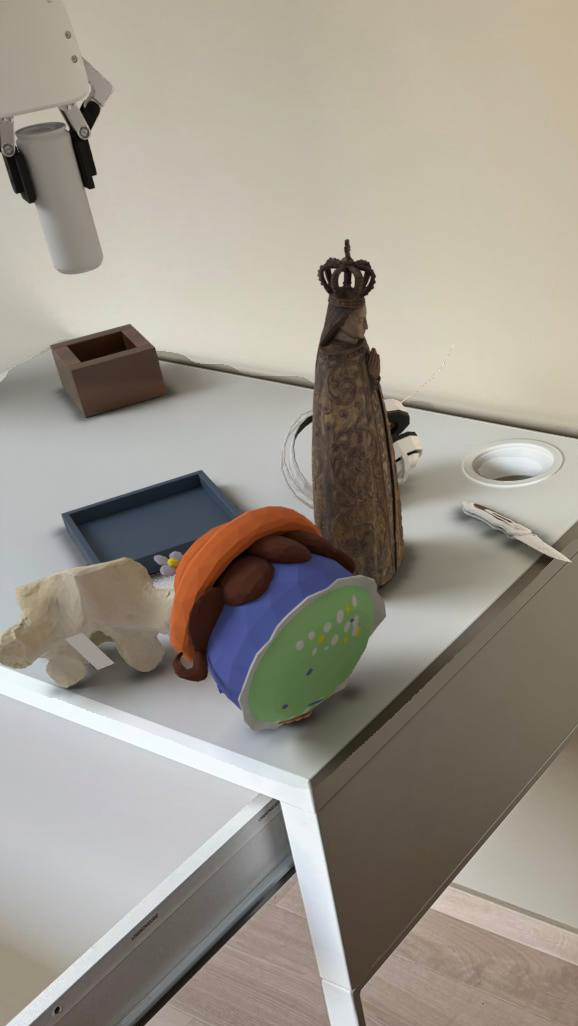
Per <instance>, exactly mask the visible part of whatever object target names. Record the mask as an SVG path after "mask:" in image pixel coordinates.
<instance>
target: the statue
mask: <svg viewBox="0 0 578 1026" xmlns="http://www.w3.org/2000/svg"><path fill="white" fill-rule="evenodd" d="M351 251H352V248H351V243H350V239H349V238H346V239H344V246H343V253H344V257H342V258H341V259H339V258H336V257H331V256H329V257H328V259H326V260H325V262H324V264H320V265H319V269H317V275H316V276H317V278H318V279H317V280H318V281H319V283H320V286H323V289H324V291H325V292H326V293H327V294H328V296H327V297H328V299H327V302H328V303H327V308H326V313H325V318H324V324H323V328H322V331H321V333H320V337H319V343H318V347H317V351H316V357H315V363H314V364H315V365H314V383H313V395H312V409H313V411H312V413H313V421H312V422H311V482H312V484H311V486H312V487H313V501H312V504H313V505H312V506H313V507H314V509H313V518H314V519H313V520H314V525H315V526H317V527H318V529H319V531H320V533H321V535H322V536H323V538H325V539H326V540H328V541H330V543H331V544H332V545H333V546H334V547H335V548H338V549H340V550H342V551H344V552H345V553H346V554H348V555H349V556H351V557H352V559H353V561H354V563H355V565H356V568H355V572H354V573H353V575H354V576H356V575H362V576H365V577H368V578H372V579H374V580H375V582H376V584H377V589H378V588H379V587H381V586H383V585H385V584H386V583H387V582H389V580H391V579H392V578H393V577H394V575H395V574H396V573H398V570H399V569H400V567H401V563H402V560H403V559H404V558H405V553H406V549H405V540H404V527H403V515H402V512H403V511H402V501H401V499H402V498H401V490H400V485H399V483H398V473H397V465H396V461H395V451H394V447H393V440H392V436H391V432H390V424H389V420H388V417H387V410H386V407H385V402H384V400H385V399H384V394H383V390H382V385H381V381H382V376H381V375H380V374H381V356H380V354H379V353H378V352H377V349H376V347H371V348H370V345H369V344H368V341H367V338H366V336H365V334H366V331H367V330H369V324H368V321H367V320H368V319H367V312H368V311H367V310H368V309H367V304H366V297H367V296H368V295H369V293H371V291H372V290H374V289H375V284H377V280H376V278H377V275H376V273H375V270H374V269H373V268H372V266H371V262H370V261H367V260H366V259H363V258H360V259H356V260H354V259H353V258H352V256H351ZM332 270H333V271H332ZM362 272H364V273H362ZM342 273H343V281H342V285H341V286H340V285H339V279H340V275H341V274H342ZM352 276H353V278H354V286H352V283H353V281H352Z"/></svg>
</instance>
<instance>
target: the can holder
mask: <svg viewBox="0 0 578 1026" xmlns="http://www.w3.org/2000/svg"><path fill="white" fill-rule="evenodd" d="M49 348H50V352H51V354H52V357H53V361H54V363H55V367H56V369H57V373H58V376H59V379H60V382H61V386H62V389H63V391H64V393H66V395H67V396H68V397H69V399H70V400H71V401H72V402H73V404H74V405H75V406H76V408H77V409H78V410H79V411H80V412H81V414H82V415H83V417H85V418H89V417H93V416H96V415H100V414H103V413H106V412H110V411H114V410H116V409H120V408H123V407H127V406H131V405H134V404H138V403H140V402H144V401H148V400H151V399H154V398H158V397H161V396H165V395H167V394H168V391H167V388H166V384H165V380H164V377H163V373H162V369H161V365H160V361H159V357H158V354H157V349H156V347H155V346H154V345H153V344H152V343H151V342H150V341H149V340H148V339H147V338H146V337H145V336H144V335H143V334H141V332H139V330H137V329H136V328H135V327H134V326H133V324H131V323H127V324H124V325H120V326H117V327H113V328H109V329H106V330H105V329H104V330H102V331H98V332H94V333H90V334H87V335H83V336H79V337H76V338H72V339H68V340H64V341H61V342H57V343H52V344H50V345H49Z"/></svg>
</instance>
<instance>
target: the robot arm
mask: <svg viewBox="0 0 578 1026" xmlns="http://www.w3.org/2000/svg"><path fill="white" fill-rule="evenodd" d="M76 37H77V36H76V35H75V31H74V29H73V25H72V23H71V20H70V18H69V15H68V12H67V9H66V6H65V3H64V1H63V0H0V154H1V156H2V159H3V162H4V166H5V169H6V172H7V175H8V178H9V181H10V185H11V188H12V190H13V192H14V193H15V195H18V194H20V196H21V198H22V200H24V201H25V202H26V203H27V204H28V205H31V204H35V201H36V196H35V192H34V189H33V186H32V183H31V179H30V176H29V173H28V169H27V166H26V163H25V159H24V157H23V155H22V154H20V153H19V151H18V148H17V145H16V138H15V137H16V135H15V119H14V118H15V117H17V116H21V115H26V114H30V113H35V112H40V111H45V110H49V109H54V108H57V109H58V111H59V113H60V114H61V117H62V118H63V120H64V123H65V124H66V127H67V128H68V132H69V133H70V136H71V140H72V144H73V147H74V151H75V155H76V158H77V162H78V165H79V169H80V173H81V176H82V180H83V184H84V187H85V189H88V190H94V189H96V184H95V181H94V178H93V177H95V176H97V175H98V171H97V167H96V164H95V160H94V157H93V153H92V149H91V145H90V142H89V139H90V138H91V136H92V129H93V128H94V126H95V123H96V122H97V120H98V118H99V115H100V114H101V110H102V109H103V107H104V106H105V105H106V103H107V102H108V100H109V99H110V97H111V96H112V94H113V93H114V86H113V84H112V83H111V82H110V81H109V80H108V79H107V78H106V77H104V75H102V74H101V73H100V71H98V70H97V69H96V68H95V67H94V66H93V65H92V64H91V62H89V61H88V60H87V59H85V57H83V56H82V53H81V50H80V47H79V44H78V39H77V38H76ZM89 91H90V92H89ZM86 96H87V97H86ZM85 97H86V98H85ZM84 98H85V99H84ZM82 100H83V101H82ZM79 101H82V103H81V105H80V107H79V106H78V104H77V103H78V102H79Z"/></svg>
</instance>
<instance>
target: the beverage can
mask: <svg viewBox="0 0 578 1026" xmlns="http://www.w3.org/2000/svg"><path fill="white" fill-rule="evenodd" d="M66 128H67V124H66V122H62V121H48V122H47V121H46V122H38V123H34V124H30V125H27V126H23V127H21V128H18V129H16V130H14V135H15V137H16V139H15V146H17V149H18V152H19V153H20V154H22V155H23V157H24V159H25V163H26V166H27V169H28V173H29V176H30V179H31V183H32V186H33V189H34V192H35V196H36V201H35V203H34V206H35V209H36V212H37V215H38V219H39V222H40V225H41V229H42V232H43V235H44V240H45V242H46V245H47V248H48V252H49V255H50V258H51V262H52V265H53V268H54V269H55V270H56V271H57V272H58V273H60V274H62V275H69V276H70V275H80V274H85V273H88V272H91V271H94V270H96V269H98V268H99V267H100V266H102V263H103V262H104V261H103V260H104V253H103V249H102V246H101V243H100V239H99V234H98V231H97V228H96V224H95V220H94V216H93V213H92V209H91V205H90V202H89V199H88V195H87V191H86V188H85V187H84V184H83V180H82V176H81V173H80V169H79V165H78V162H77V158H76V155H75V151H74V147H73V144H72V140H71V136H70V133H69V132H68V131H69V129H68V130H67V129H66Z"/></svg>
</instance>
